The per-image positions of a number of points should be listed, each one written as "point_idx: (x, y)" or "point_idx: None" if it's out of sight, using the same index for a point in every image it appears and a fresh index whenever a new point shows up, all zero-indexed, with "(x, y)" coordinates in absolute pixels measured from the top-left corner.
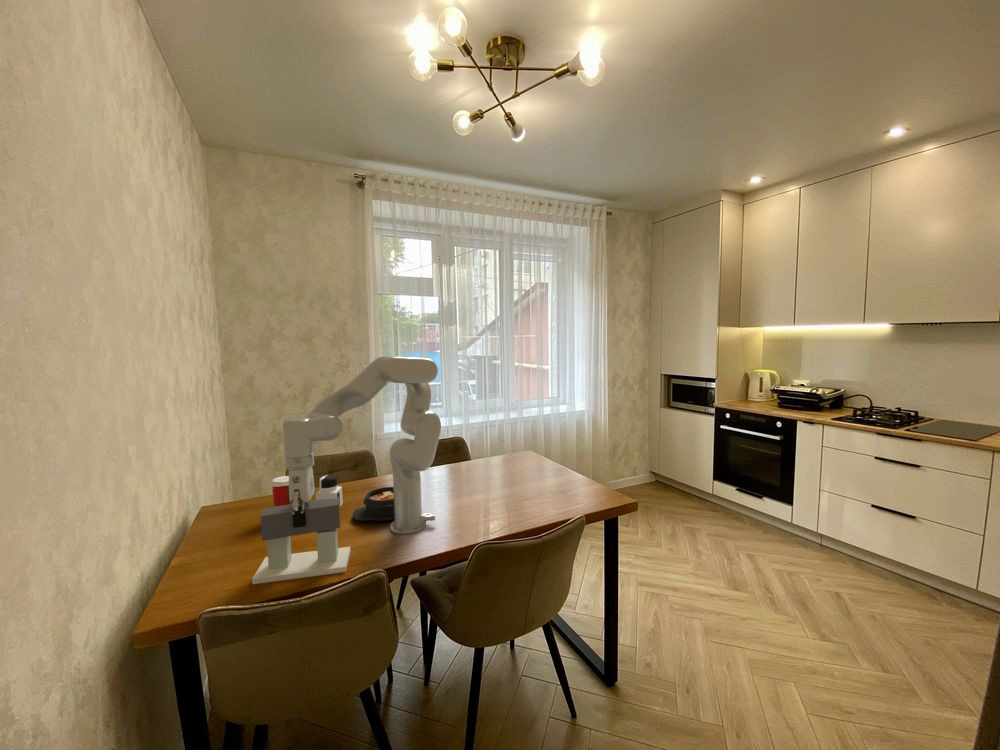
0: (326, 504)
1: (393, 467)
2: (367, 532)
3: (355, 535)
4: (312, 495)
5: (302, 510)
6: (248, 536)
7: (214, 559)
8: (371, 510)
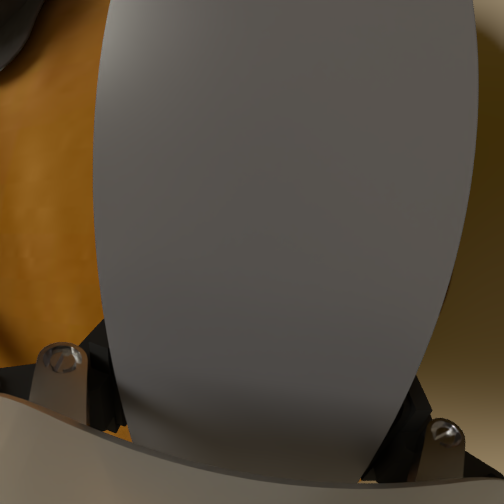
0: (378, 139)
1: None
2: (98, 9)
3: (98, 47)
4: (216, 484)
5: (462, 449)
6: (29, 364)
7: (126, 430)
8: (8, 1)
